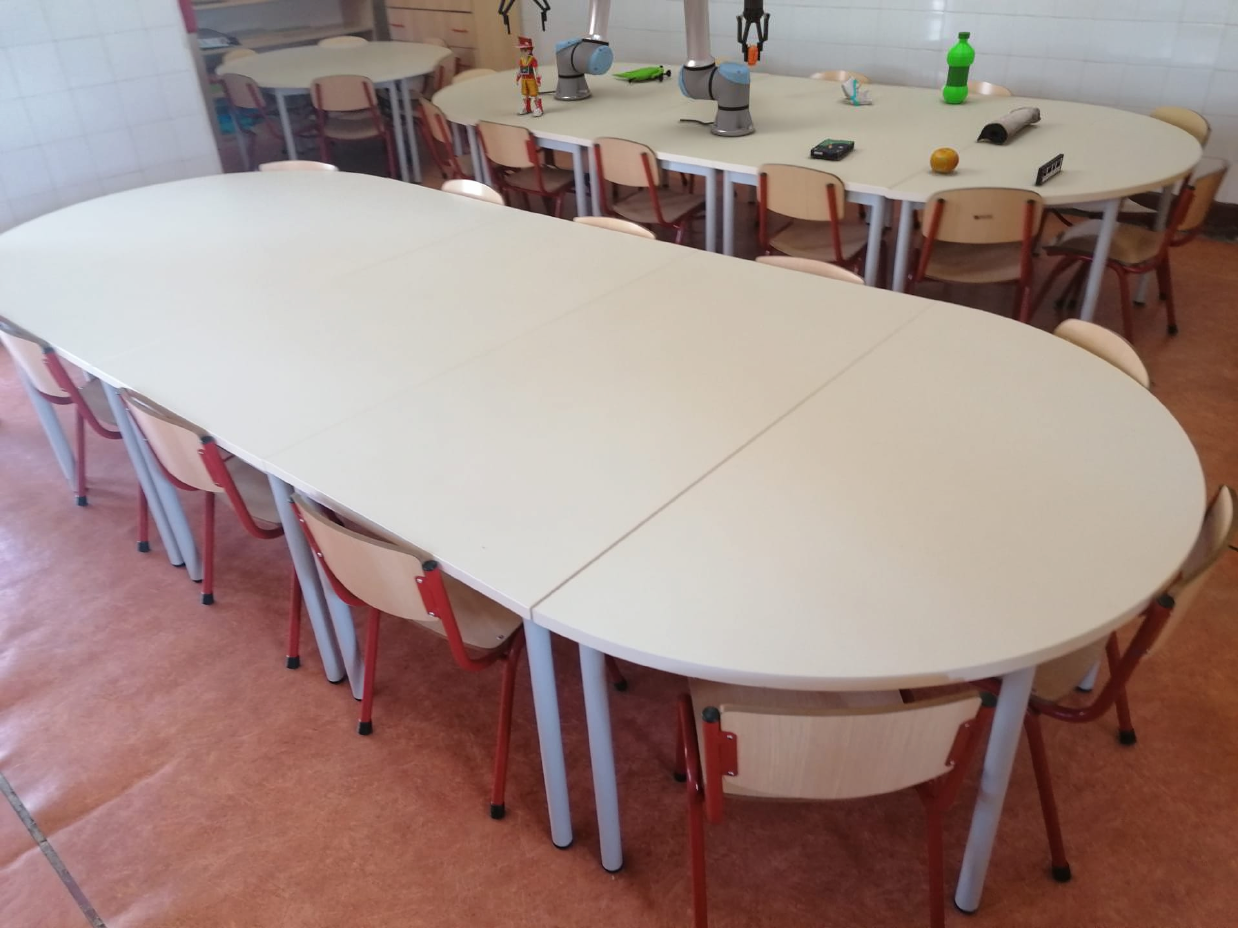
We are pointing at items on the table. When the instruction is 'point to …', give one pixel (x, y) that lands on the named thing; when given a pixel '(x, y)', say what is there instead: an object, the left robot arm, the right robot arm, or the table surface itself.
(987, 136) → the rolled mat
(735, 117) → the right robot arm
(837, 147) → the disk drive
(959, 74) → the plastic bottle
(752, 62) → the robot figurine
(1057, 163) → the midi keyboard
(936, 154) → the fruit
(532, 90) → the toy
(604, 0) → the left robot arm
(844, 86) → the anatomical model
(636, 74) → the toy
